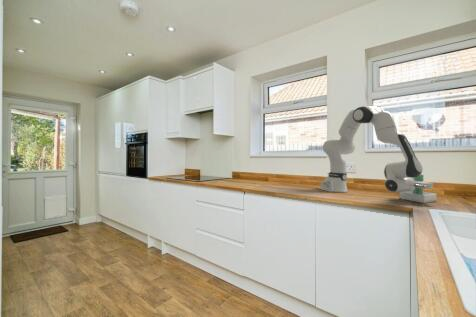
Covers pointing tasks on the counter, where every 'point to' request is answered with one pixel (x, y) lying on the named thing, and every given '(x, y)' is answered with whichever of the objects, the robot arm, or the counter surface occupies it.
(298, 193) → the counter surface
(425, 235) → the counter surface
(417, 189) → the green bottle
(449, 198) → the counter surface
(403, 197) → the tray
